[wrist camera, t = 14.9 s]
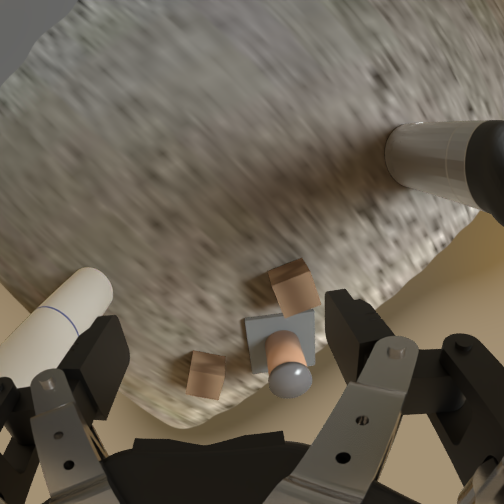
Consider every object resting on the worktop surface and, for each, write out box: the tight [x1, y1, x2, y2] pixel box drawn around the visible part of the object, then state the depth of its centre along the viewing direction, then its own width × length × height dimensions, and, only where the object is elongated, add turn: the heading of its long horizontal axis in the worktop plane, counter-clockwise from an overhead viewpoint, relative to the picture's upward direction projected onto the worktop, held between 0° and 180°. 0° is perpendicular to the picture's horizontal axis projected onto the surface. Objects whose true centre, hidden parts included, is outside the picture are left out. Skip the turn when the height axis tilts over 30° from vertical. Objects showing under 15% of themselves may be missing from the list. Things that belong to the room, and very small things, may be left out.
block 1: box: [186, 350, 225, 400], centre depth 46 cm, size 5×5×5 cm
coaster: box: [245, 309, 315, 374], centre depth 47 cm, size 10×10×1 cm
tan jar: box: [265, 330, 312, 398], centre depth 42 cm, size 6×6×9 cm
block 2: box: [268, 258, 321, 318], centre depth 42 cm, size 5×5×5 cm
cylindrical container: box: [0, 267, 113, 388], centre depth 31 cm, size 7×7×25 cm
